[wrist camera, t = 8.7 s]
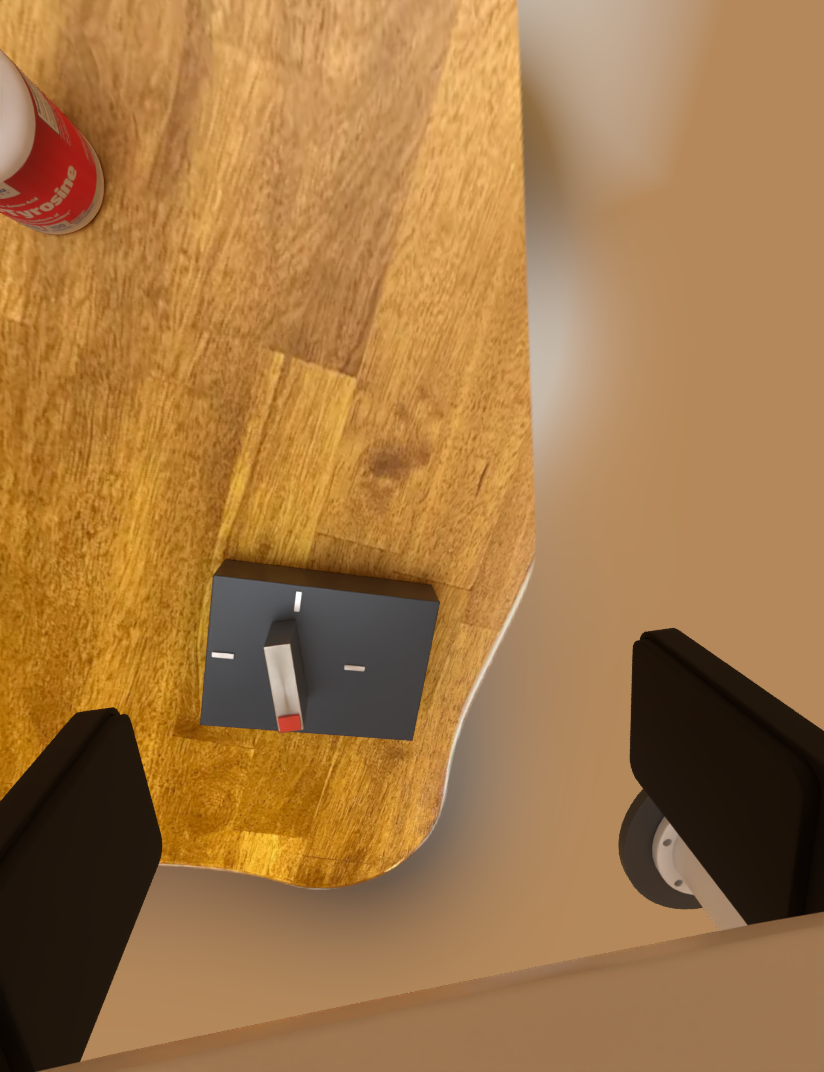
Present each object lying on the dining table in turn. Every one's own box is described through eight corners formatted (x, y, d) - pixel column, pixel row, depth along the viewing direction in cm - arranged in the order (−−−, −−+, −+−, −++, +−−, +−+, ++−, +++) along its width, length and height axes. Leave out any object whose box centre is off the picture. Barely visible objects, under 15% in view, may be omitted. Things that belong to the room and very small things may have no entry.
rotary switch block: (432, 584, 39) (440, 603, 36) (407, 713, 42) (412, 742, 38) (224, 558, 37) (212, 575, 33) (211, 697, 39) (198, 726, 36)
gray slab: (271, 622, 35) (262, 649, 31) (295, 619, 35) (289, 645, 31) (284, 701, 36) (278, 736, 33) (308, 698, 37) (304, 732, 33)
